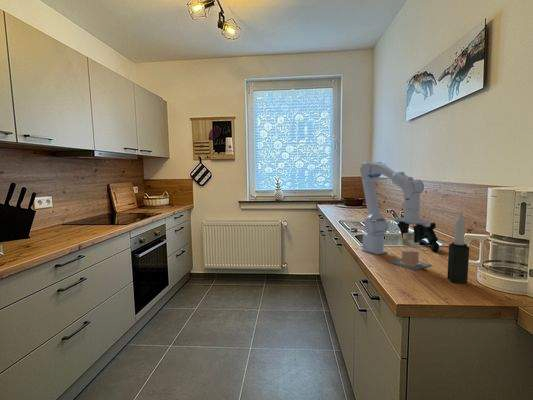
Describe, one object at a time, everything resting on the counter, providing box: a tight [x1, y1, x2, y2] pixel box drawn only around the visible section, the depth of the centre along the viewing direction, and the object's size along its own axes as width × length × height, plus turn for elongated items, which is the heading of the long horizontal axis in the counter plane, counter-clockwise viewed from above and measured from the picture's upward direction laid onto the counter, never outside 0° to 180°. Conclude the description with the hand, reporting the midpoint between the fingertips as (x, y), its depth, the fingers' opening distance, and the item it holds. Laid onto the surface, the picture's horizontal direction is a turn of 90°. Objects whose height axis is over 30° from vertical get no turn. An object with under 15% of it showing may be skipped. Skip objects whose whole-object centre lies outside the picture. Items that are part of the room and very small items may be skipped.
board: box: [388, 257, 432, 271], centre depth 120 cm, size 12×11×1 cm
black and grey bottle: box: [446, 211, 470, 285], centre depth 99 cm, size 5×5×25 cm
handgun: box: [412, 222, 440, 253], centre depth 148 cm, size 5×23×15 cm, turn 174°
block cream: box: [402, 231, 420, 248], centre depth 119 cm, size 4×4×5 cm
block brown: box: [401, 248, 420, 265], centre depth 119 cm, size 4×4×5 cm
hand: (410, 241), depth 119 cm, fingers closed on block cream, 4 cm apart
